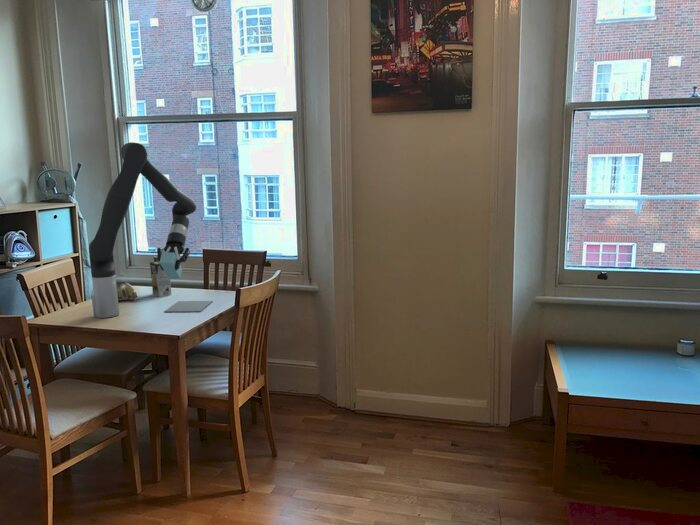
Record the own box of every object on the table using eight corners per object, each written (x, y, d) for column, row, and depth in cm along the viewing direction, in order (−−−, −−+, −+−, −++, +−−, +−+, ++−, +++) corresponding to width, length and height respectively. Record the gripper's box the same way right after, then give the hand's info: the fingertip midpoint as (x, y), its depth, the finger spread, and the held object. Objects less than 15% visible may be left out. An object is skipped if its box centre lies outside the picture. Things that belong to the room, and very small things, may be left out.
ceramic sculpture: (136, 277, 270) (135, 285, 256) (138, 294, 272) (137, 303, 259) (113, 279, 267) (110, 287, 253) (115, 296, 269) (112, 305, 255)
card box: (168, 278, 234) (159, 262, 224) (171, 268, 237) (162, 252, 227) (180, 278, 234) (171, 262, 224) (182, 268, 237) (174, 252, 227)
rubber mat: (164, 312, 238) (164, 311, 238) (178, 302, 255) (178, 301, 255) (200, 312, 237) (200, 310, 237) (212, 301, 255) (212, 300, 255)
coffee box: (152, 294, 273) (149, 262, 270) (164, 292, 277) (162, 260, 275) (159, 297, 266) (156, 264, 264) (172, 295, 270) (169, 262, 268)
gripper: (158, 231, 235) (149, 264, 226) (191, 231, 235) (183, 264, 225) (163, 242, 241) (155, 274, 232) (195, 241, 241) (188, 274, 231)
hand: (169, 269), depth 228 cm, fingers closed on card box, 5 cm apart
